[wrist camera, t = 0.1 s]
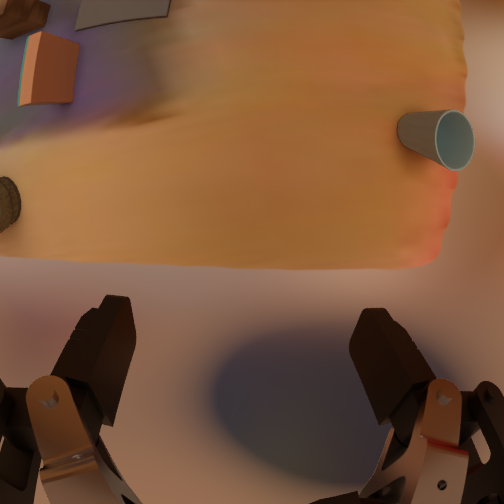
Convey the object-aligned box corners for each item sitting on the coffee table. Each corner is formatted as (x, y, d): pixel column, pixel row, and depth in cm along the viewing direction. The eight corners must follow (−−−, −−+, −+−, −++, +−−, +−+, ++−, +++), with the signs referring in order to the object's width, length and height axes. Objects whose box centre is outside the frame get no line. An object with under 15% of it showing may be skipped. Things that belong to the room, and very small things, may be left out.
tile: (66, 47, 24) (27, 36, 15) (80, 44, 24) (41, 31, 15) (59, 104, 28) (17, 106, 19) (72, 101, 28) (30, 102, 19)
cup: (421, 163, 36) (465, 180, 27) (384, 144, 34) (428, 156, 25) (434, 120, 33) (480, 128, 23) (398, 98, 31) (443, 98, 22)
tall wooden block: (17, 20, 18) (-23, 11, 8) (50, 5, 19) (11, -11, 9) (12, 39, 20) (-30, 33, 10) (44, 25, 21) (2, 13, 11)
